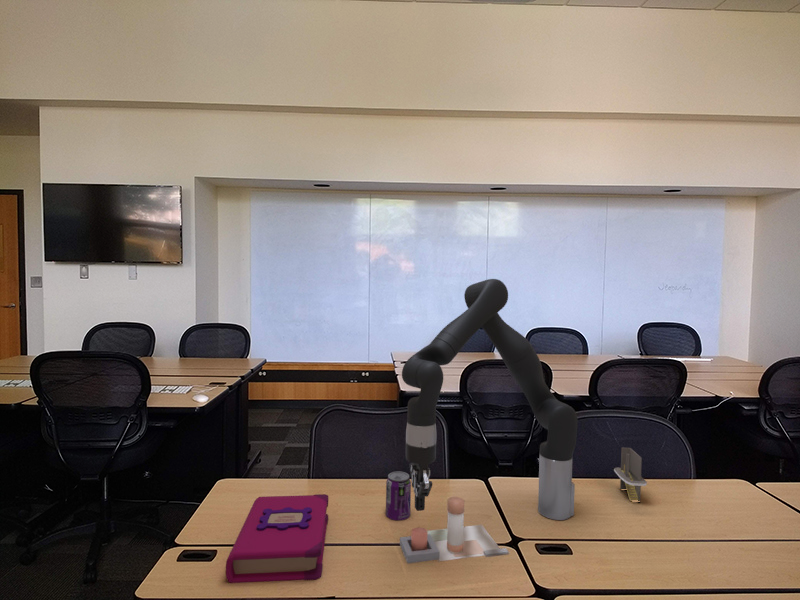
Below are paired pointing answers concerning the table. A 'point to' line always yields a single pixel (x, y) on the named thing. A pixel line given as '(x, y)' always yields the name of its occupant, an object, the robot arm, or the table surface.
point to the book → (280, 540)
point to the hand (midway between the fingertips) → (419, 509)
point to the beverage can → (398, 496)
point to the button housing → (419, 555)
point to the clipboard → (468, 543)
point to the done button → (419, 539)
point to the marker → (455, 525)
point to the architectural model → (630, 473)
